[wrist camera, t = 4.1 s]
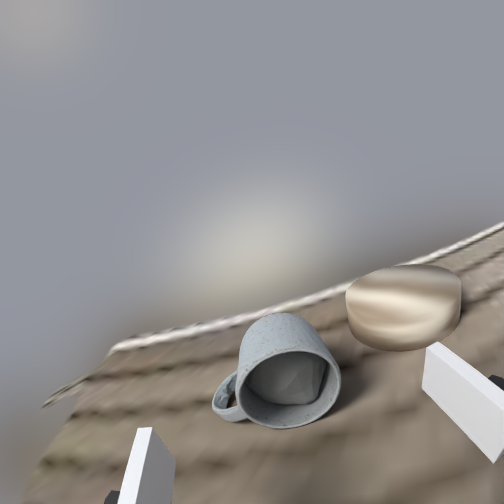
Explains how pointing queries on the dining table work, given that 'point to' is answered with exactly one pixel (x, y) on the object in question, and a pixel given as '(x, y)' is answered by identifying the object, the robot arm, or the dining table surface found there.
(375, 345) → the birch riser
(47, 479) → the dining table surface
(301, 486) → the dining table surface
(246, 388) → the ceramic mug
